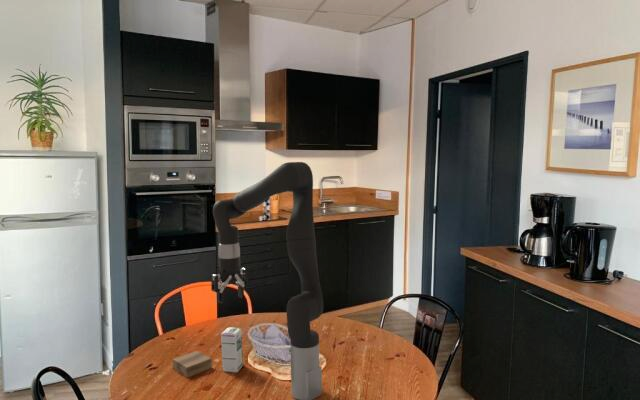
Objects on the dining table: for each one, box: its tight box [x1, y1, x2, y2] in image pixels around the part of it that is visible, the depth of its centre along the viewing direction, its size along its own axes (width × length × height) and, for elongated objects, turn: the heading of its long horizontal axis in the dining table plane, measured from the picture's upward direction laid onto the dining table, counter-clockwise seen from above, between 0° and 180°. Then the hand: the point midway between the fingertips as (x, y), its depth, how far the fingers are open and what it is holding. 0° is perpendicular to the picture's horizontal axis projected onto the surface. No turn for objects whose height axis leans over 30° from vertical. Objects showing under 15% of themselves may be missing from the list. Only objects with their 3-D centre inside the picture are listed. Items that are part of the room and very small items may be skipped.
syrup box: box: [220, 326, 244, 373], centre depth 172 cm, size 6×6×14 cm
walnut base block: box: [172, 350, 213, 378], centre depth 173 cm, size 10×10×4 cm
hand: (230, 299), depth 170 cm, fingers open, 8 cm apart
